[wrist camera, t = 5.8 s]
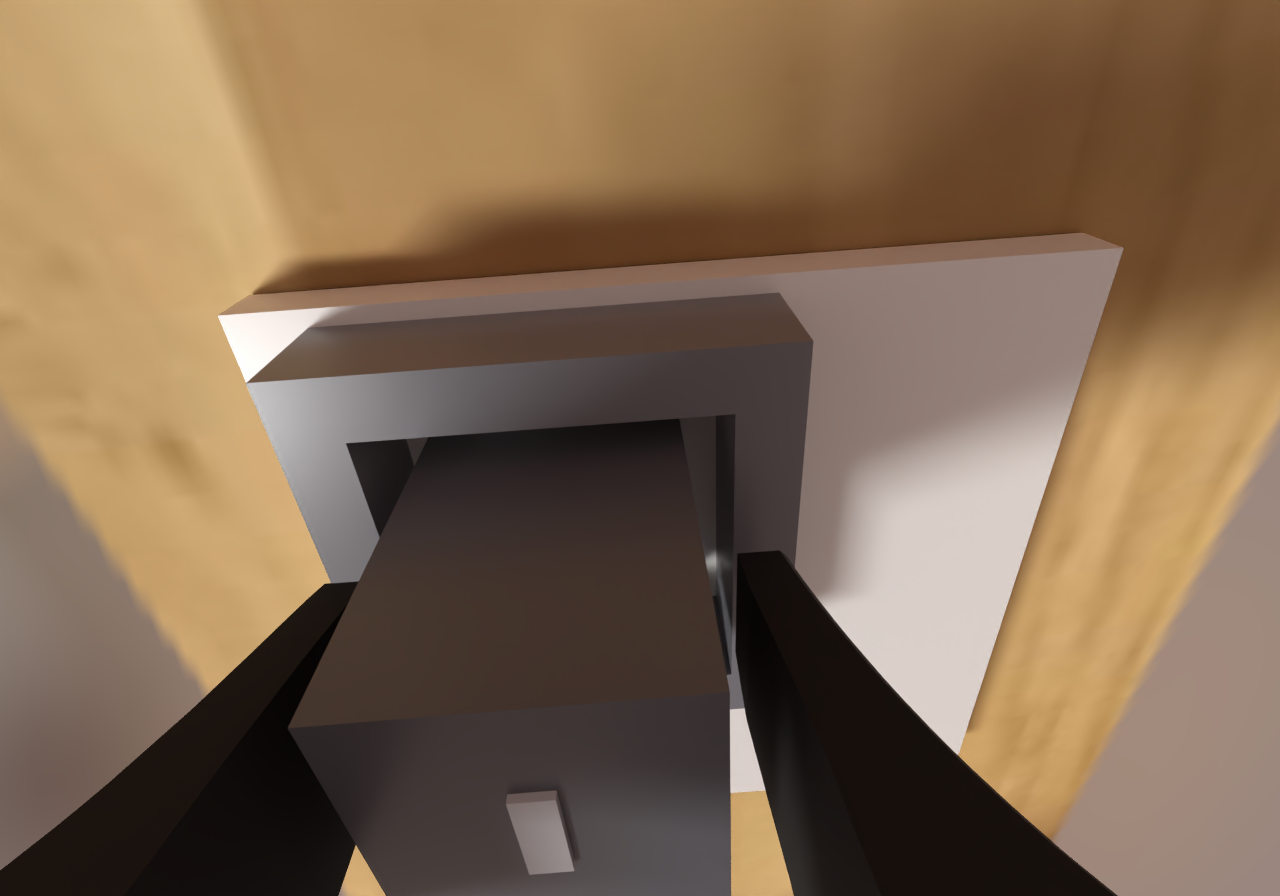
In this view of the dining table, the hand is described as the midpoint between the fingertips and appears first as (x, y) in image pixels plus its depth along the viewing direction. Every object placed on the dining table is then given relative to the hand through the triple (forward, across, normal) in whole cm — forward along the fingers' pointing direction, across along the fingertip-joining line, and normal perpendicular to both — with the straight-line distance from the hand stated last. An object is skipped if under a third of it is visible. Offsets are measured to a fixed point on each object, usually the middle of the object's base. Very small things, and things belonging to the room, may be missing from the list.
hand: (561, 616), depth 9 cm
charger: (+3, 0, 0) cm, 3 cm away
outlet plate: (+4, -2, +3) cm, 5 cm away
